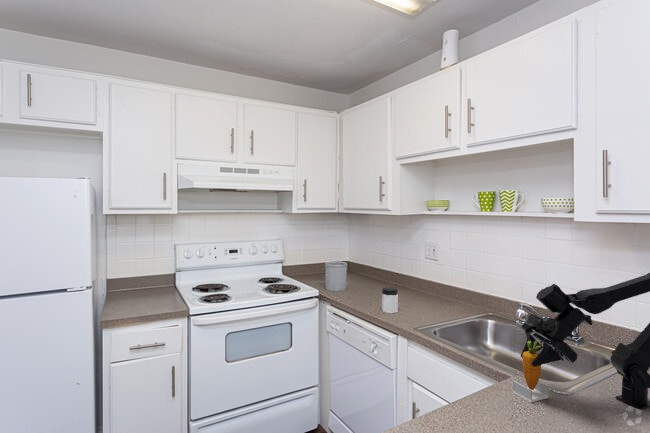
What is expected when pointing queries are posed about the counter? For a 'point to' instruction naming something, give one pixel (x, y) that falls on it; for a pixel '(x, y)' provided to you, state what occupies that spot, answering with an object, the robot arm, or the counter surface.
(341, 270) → the utensil holder
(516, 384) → the white railed tray
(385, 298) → the jar
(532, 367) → the carrot
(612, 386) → the counter surface
